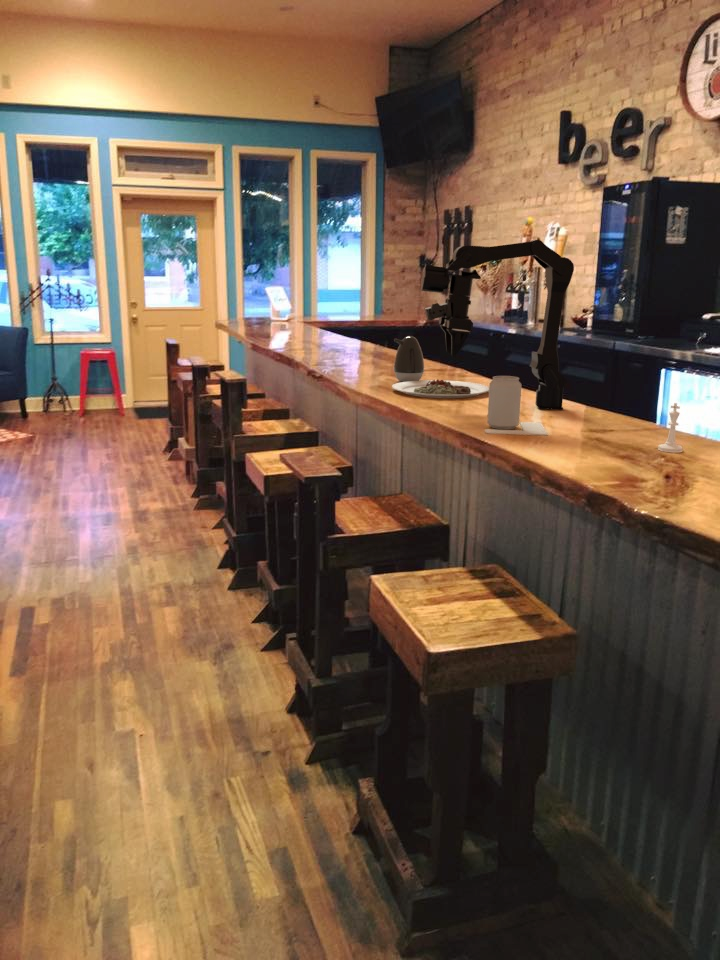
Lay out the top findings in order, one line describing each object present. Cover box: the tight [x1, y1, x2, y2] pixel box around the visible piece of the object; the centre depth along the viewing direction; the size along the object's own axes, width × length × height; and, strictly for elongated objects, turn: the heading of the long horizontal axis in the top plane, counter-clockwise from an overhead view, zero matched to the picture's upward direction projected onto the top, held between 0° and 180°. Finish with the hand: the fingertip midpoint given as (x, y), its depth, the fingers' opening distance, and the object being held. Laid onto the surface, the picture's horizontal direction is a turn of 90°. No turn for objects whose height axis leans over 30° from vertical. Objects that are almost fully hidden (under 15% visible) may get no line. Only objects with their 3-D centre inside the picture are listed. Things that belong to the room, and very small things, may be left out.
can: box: [486, 375, 522, 430], centre depth 184 cm, size 8×8×12 cm
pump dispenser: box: [393, 335, 425, 382], centre depth 258 cm, size 10×10×15 cm
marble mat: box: [484, 421, 549, 436], centre depth 184 cm, size 14×14×1 cm
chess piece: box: [657, 402, 684, 454], centre depth 162 cm, size 5×5×10 cm
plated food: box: [391, 378, 489, 399], centre depth 238 cm, size 30×30×3 cm
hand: (451, 354), depth 208 cm, fingers open, 9 cm apart
